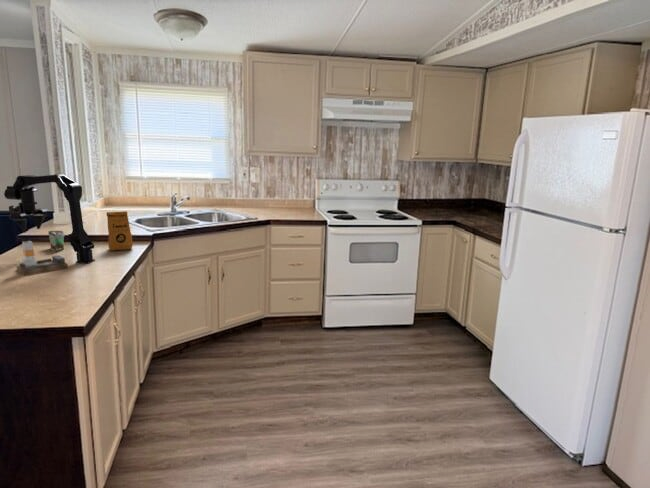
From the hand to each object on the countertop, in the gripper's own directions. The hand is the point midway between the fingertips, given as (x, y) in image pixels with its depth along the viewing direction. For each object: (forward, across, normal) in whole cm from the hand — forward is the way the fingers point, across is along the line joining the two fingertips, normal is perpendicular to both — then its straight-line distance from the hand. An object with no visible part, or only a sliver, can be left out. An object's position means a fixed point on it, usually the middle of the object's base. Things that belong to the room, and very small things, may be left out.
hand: (31, 230), depth 224 cm
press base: (+15, +16, +17) cm, 28 cm away
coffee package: (+15, -28, +30) cm, 44 cm away
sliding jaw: (+13, +20, +14) cm, 27 cm away
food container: (+15, -20, -2) cm, 25 cm away
